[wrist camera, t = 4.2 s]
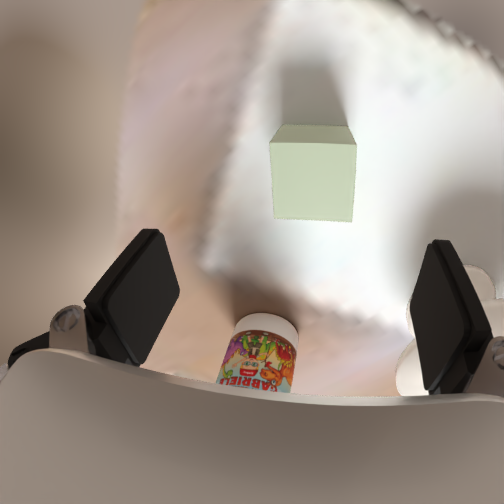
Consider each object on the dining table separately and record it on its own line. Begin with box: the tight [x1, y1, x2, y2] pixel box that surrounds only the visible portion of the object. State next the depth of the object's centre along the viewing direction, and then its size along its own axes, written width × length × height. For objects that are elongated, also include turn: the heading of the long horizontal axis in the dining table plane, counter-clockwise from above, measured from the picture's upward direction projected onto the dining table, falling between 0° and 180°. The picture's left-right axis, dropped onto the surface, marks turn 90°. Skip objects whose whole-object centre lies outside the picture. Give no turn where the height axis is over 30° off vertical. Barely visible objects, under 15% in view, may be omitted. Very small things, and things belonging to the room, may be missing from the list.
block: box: [269, 125, 357, 222], centre depth 20 cm, size 5×5×6 cm
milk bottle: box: [216, 313, 299, 393], centre depth 27 cm, size 8×8×20 cm
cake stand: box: [395, 265, 504, 396], centre depth 23 cm, size 15×15×8 cm
